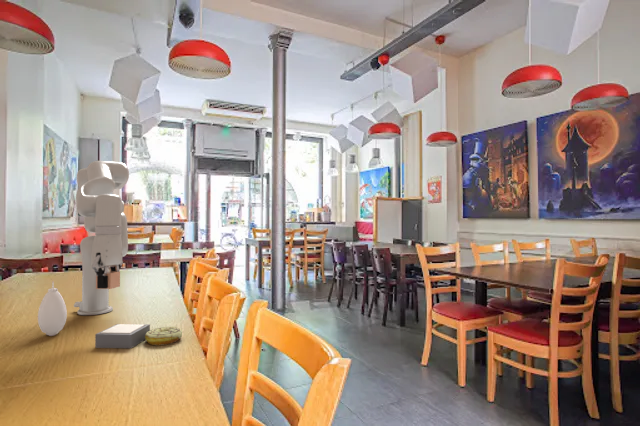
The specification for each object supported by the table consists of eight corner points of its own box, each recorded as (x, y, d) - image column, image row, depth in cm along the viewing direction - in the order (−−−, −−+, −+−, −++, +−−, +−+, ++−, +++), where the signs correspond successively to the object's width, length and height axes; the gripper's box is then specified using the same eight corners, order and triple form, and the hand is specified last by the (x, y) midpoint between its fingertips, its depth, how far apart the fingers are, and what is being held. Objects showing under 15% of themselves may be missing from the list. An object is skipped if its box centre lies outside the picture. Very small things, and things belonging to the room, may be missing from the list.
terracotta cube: (95, 288, 121) (96, 273, 121) (105, 286, 126) (105, 271, 126) (110, 288, 121) (110, 273, 121) (119, 286, 126) (120, 271, 126)
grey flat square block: (95, 347, 112) (95, 333, 112) (117, 336, 123) (117, 323, 123) (131, 348, 111) (131, 333, 111) (149, 336, 122) (149, 323, 122)
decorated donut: (188, 341, 119) (188, 329, 119) (154, 349, 111) (154, 336, 111) (172, 334, 126) (173, 322, 126) (140, 341, 118) (140, 329, 118)
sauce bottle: (63, 330, 130) (64, 278, 130) (68, 334, 124) (69, 280, 124) (35, 334, 124) (36, 280, 125) (39, 340, 119) (40, 283, 119)
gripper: (113, 231, 133) (113, 282, 132) (79, 232, 116) (79, 291, 115) (133, 231, 132) (133, 282, 132) (102, 231, 115) (102, 291, 115)
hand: (108, 286), depth 123 cm, fingers closed on terracotta cube, 5 cm apart
